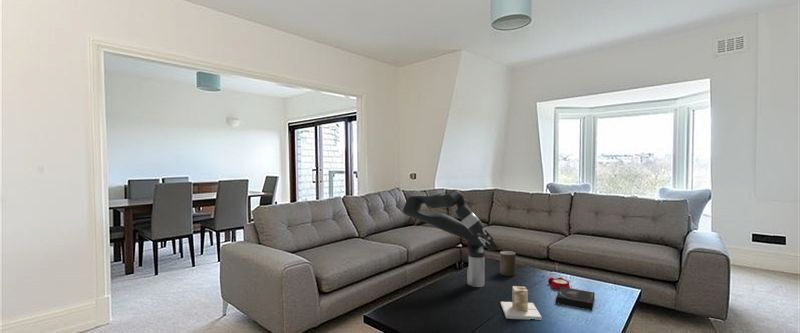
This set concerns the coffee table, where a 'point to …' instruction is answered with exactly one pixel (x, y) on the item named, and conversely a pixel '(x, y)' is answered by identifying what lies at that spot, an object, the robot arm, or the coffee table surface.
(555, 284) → the alarm clock
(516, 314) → the plate
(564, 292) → the portable cd player
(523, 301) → the beige wooden tall block
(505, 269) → the pillar candle
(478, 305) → the coffee table surface
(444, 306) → the coffee table surface
